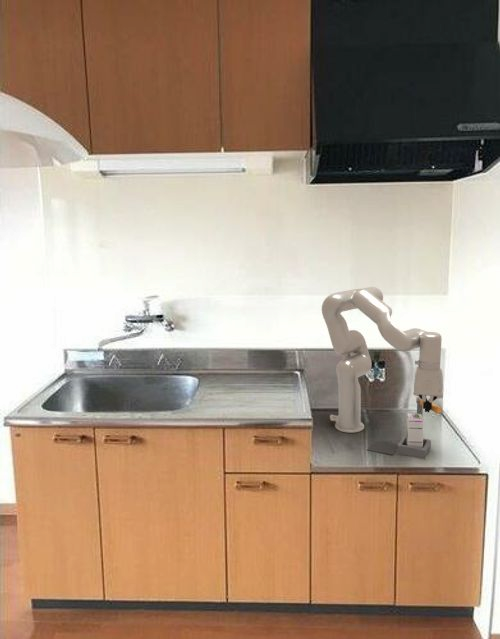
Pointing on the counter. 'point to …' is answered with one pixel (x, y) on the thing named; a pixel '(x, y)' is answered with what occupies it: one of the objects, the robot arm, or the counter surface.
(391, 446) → the mat
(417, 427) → the syrup box
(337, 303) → the robot arm
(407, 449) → the collar
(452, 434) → the counter surface
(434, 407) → the bar
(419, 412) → the clip post
